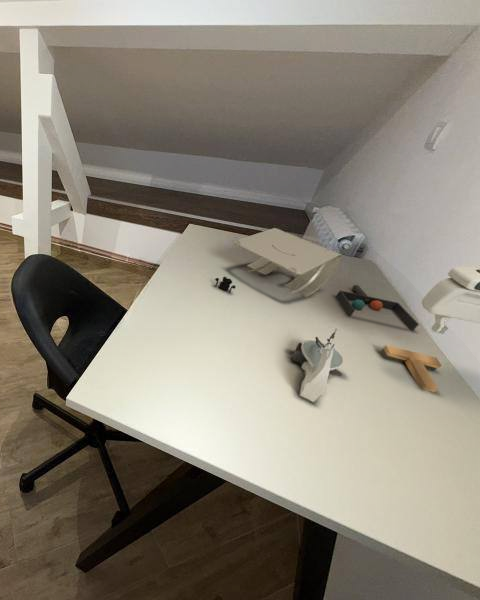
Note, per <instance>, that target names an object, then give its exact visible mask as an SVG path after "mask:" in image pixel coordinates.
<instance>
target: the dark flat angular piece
mask: <svg viewBox="0 0 480 600" xmlns="http://www.w3.org/2000/svg"><path fill="white" fill-rule="evenodd" d="M351 288H352V290H353V291H354V292H350V291H345V290H341V289H340V290H338V292H337V294H336V296H335V298H336V299H337V301H338V303H339V305H340V306H341V308H342V309H343V310H344V312H345V314H346V315H347V317H351V316H352V315H353V314H354V312H355V311H356V309H355V308H353V306H352V302H353V301H354V300H362V301H363V302H364V303H365V305H368V306H370V303H371V302H372V301H374V300H378V301H381V302H382V304H383V307H382V308H381V309H387V310H391V311H393V312H394V314H395V315H396V316H397V317H398V318H399V319H400V320H401V321H402V323H403V324H405V325H406V327H407V328H408V329H409V330H410V331H411V332H414V331H415V330H416V328H417V327H418V326H419V325H420V324H419V322H417V320H416V319H415V318H414V317H413V316H412V315H411V314H410V313H409V312H408V311H407V310H406V309H405V308H404V307H403V305H401V304H400V303H399V302H397V301H392V300H387V299H383V298H378V297H373V296H368V294H367V293H366V292H365V291H364V290H363V289H362V287H361V286H360V285H358V284H354V285H352V286H351Z"/></svg>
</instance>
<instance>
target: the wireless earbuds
mask: <svg viewBox="0 0 480 600" xmlns="http://www.w3.org/2000/svg"><path fill="white" fill-rule="evenodd" d="M214 280H215V281H216V283H215V286H214V287H217V286H218V284H219V286H218V289H219V290H220V291H223V292H228V294H230V293H231V292H232V289H233V290H235V289H236V287H237V286H236V285H234V284H233V280H232V279H231V278H228V277H227V276H223V277H222V280H221V281H220V278H219V277H215V279H214ZM219 281H220V283H219ZM231 284H233V285H231Z"/></svg>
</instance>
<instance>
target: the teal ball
mask: <svg viewBox="0 0 480 600" xmlns="http://www.w3.org/2000/svg"><path fill="white" fill-rule="evenodd" d="M351 305H352V306H353V308H354V309H355V310H362V309H364V307H365V305H366V304H365V303H364V302H363V301H362V300H354V301H351Z"/></svg>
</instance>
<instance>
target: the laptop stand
mask: <svg viewBox="0 0 480 600" xmlns="http://www.w3.org/2000/svg"><path fill="white" fill-rule="evenodd" d="M233 244H235V245H237V246H239V247H241V248H243V249H245V250H247V251H249V252H251V253H253V254H255V255H258V256H259V258H258V259H256V260H255V261H253V262H251V263H249V264H247V265H246V266H247V267H248V268H251V269H250V270H247V273H252V272H258V273H260V274H262V275H264V276H265V275H269V274H271V273H272V272H274V271H275V270H277V269H279V268H280V267H282V268H283V269H286V270H287V271H290V272H292V273H293V274H295V275H297V276H296V277H295V278H294V279H292V280H291V281H289V282H288V283H285V284H284V285H283V286H284V287H285V288H288V289H290V291H287V292H286V294H288V295H289V294H293V293H298V294H299V295H301V296H303V297H305V298H308V297H310V296H312V295H313V294H315V293H316V292H317V291H318V290H320V289H321V288H322V287H323V285H325V284H326V282H328V280H329V279H330V277H332V275H333V273H334V272H335V270H336V269H337V267H338V265H339V263H341V260H342V257H343V254H342V253H339V252H337V251H334V250H332V249H328V248H327V247H324V246H321V245H319V244H316V243H314V242H311V241H309V240H306V239H304V238H301V237H299V236H297V235H294V234H292V233H290V232H285V231H284V230H282V229H280V228H276V227H273V228H270V229H267V230H264V231H260V232H258V233H254V234H251V235H248V236H245V237H242V238H239V239H236V240H234V241H233Z"/></svg>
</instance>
